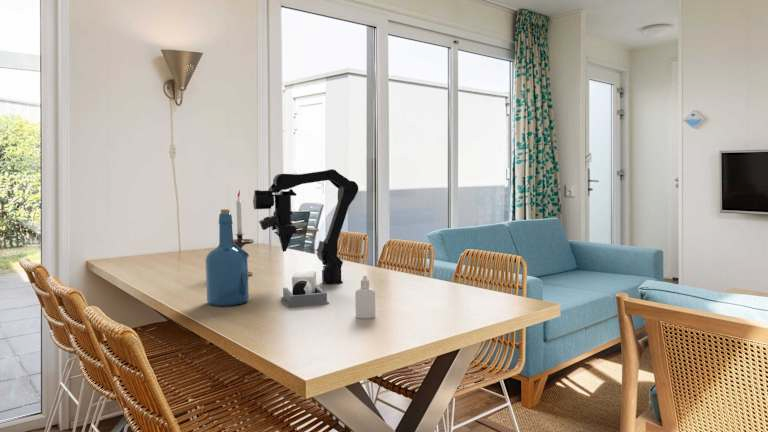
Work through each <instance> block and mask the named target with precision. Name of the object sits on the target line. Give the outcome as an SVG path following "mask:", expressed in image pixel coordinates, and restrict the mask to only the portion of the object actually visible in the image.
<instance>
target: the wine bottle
mask: <svg viewBox="0 0 768 432" xmlns="http://www.w3.org/2000/svg"><path fill="white" fill-rule="evenodd" d="M218 225H219V227H218V228H219V229H218V231H219V232H218V233H219V234H218V235H219V239H218V240H219V241H218V245H217V247H215V248H213V249H211V250H210V251H209V252H208V253H207V256H206V258H205V277H206V278H205V279H206V282H205V283H206V301H207V303H208V304H209V305H211V306H216V307H232V306H236V305H237V306H238V304H239V305H242V304H244V303H246V302H248V301H249V298H250V291H249V289H250V288H249V287H250V285H249V277H248V272H249V257H250V254H249V253H248V252H247V251H246V250H244V249H243V248H242V249H241V248H240V247H238V246H237V245H236V244H235V243H233V240H234V235H233V234H234V232H233V225H234V224H233V217H232V213H231V212H230V209H228V208H225V209H223V208H222V209H221V210H220V213H219V216H218Z"/></svg>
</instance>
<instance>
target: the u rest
mask: <svg viewBox="0 0 768 432" xmlns="http://www.w3.org/2000/svg"><path fill="white" fill-rule="evenodd" d="M315 292H316V293H314V294H303V295H293V293H292V291H290V289H289V288H288V287H282V296H281V299H282V300H283V302H284V304H286V306H287V307H288V308H296V307H297V308H298V307H308V306H309V307H310V306H318V305H329V304H330V303H329V301H328V294H327V292H326V291H325V290H324V289H322V288H321V287H320V286H319V285H318V284H316V287H315Z"/></svg>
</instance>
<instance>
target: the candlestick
mask: <svg viewBox="0 0 768 432" xmlns="http://www.w3.org/2000/svg"><path fill="white" fill-rule="evenodd" d="M238 190H239V191H238V193H237V200H236V201H235V203H236V231H237V232H236V234H235V233H234V235H236V239H233V243H235V244H236V245H237V246H238V247H240V248H241V249H243V247H244V246H245V245H251V244H254V239H251V238H250V239H249V238H243V235H245V233H243V224H242V223H243V222H242V221H243V220H242V219H243V218H242V201H241V199H240V194H241V190H240V189H238ZM249 276H250V277H253V272H252V271H248V278H249Z"/></svg>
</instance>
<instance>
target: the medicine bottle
mask: <svg viewBox="0 0 768 432" xmlns="http://www.w3.org/2000/svg"><path fill="white" fill-rule="evenodd" d="M291 284H292V286H291V287H292V291H291V293H292V294H293V295H303V294H314V293H316V292H315V287H316V285H317V271H316V270H303V271H302V270H298V271H294V272H293V274H292V278H291Z"/></svg>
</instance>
